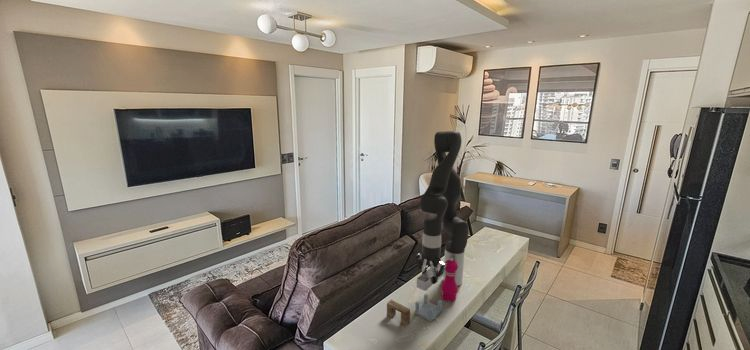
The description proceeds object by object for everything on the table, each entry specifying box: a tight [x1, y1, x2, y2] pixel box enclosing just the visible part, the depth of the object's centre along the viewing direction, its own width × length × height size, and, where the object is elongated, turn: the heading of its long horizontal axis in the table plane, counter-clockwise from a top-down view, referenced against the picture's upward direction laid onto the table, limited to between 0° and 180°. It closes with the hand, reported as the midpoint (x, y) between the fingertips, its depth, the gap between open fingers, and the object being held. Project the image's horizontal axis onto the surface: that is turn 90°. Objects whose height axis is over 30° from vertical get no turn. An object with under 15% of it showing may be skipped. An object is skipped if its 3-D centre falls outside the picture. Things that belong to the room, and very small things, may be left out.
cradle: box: [413, 293, 443, 322], centre depth 133 cm, size 9×8×5 cm
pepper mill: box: [440, 257, 459, 302], centre depth 141 cm, size 7×7×20 cm
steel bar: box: [416, 264, 445, 292], centre depth 131 cm, size 16×4×4 cm, turn 139°
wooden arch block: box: [386, 299, 411, 327], centre depth 129 cm, size 3×10×6 cm, turn 49°
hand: (429, 280), depth 130 cm, fingers closed on steel bar, 4 cm apart
